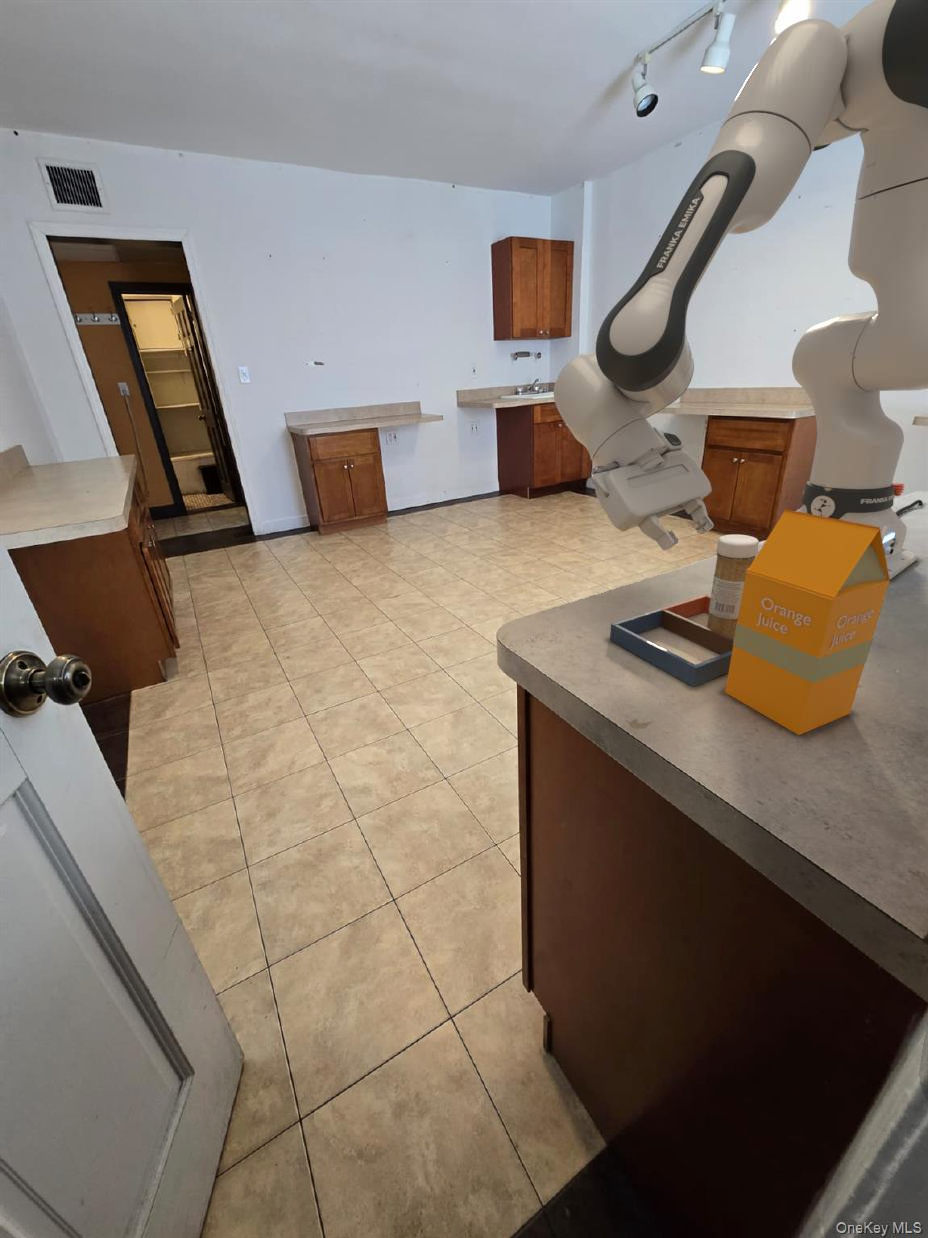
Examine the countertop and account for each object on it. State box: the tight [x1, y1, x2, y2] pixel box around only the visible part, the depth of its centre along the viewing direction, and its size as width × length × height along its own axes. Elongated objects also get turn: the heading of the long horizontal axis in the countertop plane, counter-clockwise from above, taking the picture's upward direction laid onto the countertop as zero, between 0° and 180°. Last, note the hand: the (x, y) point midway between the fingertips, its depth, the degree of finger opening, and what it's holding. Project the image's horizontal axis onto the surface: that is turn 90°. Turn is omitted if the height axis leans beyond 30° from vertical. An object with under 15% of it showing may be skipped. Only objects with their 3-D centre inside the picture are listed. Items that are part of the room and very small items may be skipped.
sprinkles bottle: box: [706, 533, 760, 639], centre depth 67 cm, size 5×5×13 cm
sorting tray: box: [609, 594, 734, 688], centre depth 67 cm, size 18×14×2 cm
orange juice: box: [724, 508, 891, 736], centre depth 50 cm, size 8×9×20 cm
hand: (690, 538), depth 69 cm, fingers open, 8 cm apart
